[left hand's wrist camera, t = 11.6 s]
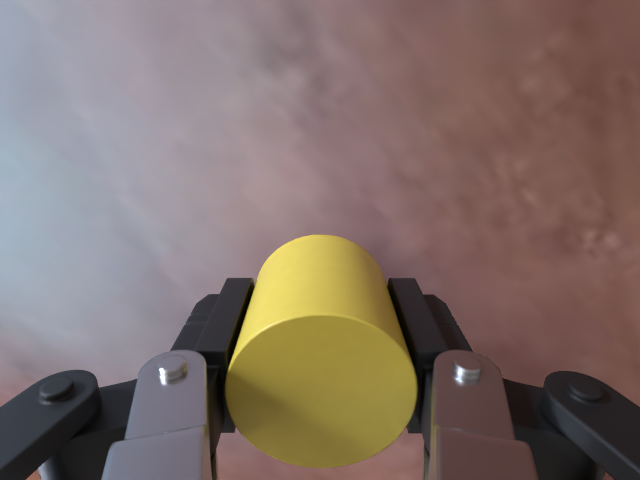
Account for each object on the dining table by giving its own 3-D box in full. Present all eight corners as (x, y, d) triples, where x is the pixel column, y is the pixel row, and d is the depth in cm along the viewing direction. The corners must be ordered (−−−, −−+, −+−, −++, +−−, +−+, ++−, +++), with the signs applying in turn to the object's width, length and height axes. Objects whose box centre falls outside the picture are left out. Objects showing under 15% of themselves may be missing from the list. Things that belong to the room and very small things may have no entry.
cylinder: (341, 368, 13) (350, 492, 9) (232, 314, 13) (191, 423, 9) (411, 275, 12) (458, 370, 8) (296, 209, 11) (284, 278, 7)
